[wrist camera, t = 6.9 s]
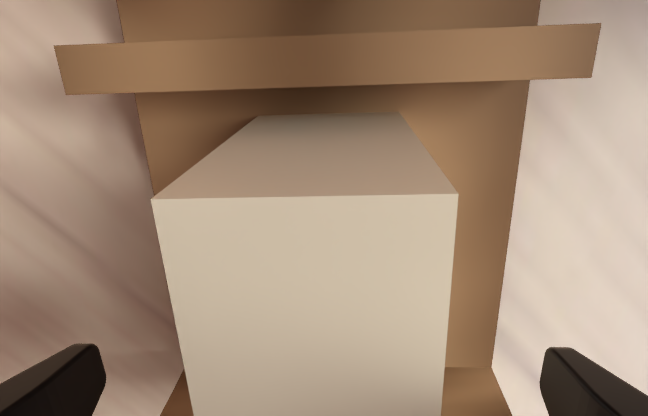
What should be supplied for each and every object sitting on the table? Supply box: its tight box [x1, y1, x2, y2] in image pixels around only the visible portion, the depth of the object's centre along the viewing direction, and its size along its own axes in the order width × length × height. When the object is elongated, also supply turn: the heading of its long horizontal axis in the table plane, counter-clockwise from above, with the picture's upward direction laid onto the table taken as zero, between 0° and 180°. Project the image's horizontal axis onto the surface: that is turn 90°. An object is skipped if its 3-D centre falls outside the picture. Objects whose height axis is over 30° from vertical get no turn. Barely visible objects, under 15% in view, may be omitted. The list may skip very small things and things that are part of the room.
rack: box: [54, 0, 601, 416], centre depth 10 cm, size 11×23×4 cm, turn 2°
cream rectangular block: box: [151, 112, 459, 416], centre depth 10 cm, size 4×8×7 cm, turn 2°
